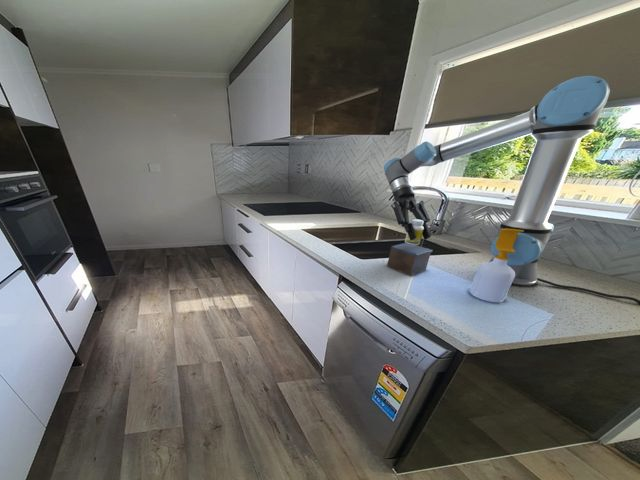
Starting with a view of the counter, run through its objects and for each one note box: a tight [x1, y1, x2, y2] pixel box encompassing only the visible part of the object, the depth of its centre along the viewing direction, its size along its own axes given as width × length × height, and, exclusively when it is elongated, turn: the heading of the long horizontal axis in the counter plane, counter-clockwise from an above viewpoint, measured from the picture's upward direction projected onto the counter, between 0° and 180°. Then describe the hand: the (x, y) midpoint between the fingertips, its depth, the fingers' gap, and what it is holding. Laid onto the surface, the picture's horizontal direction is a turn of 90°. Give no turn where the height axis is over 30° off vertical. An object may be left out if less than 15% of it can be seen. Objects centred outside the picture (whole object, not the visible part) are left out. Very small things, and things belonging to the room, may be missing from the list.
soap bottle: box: [469, 228, 524, 303], centre depth 80 cm, size 9×9×25 cm
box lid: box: [390, 242, 434, 256], centre depth 102 cm, size 11×11×1 cm
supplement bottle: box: [404, 218, 424, 246], centre depth 99 cm, size 5×5×10 cm
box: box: [386, 247, 432, 277], centre depth 104 cm, size 11×11×9 cm
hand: (420, 238), depth 97 cm, fingers closed on supplement bottle, 5 cm apart
